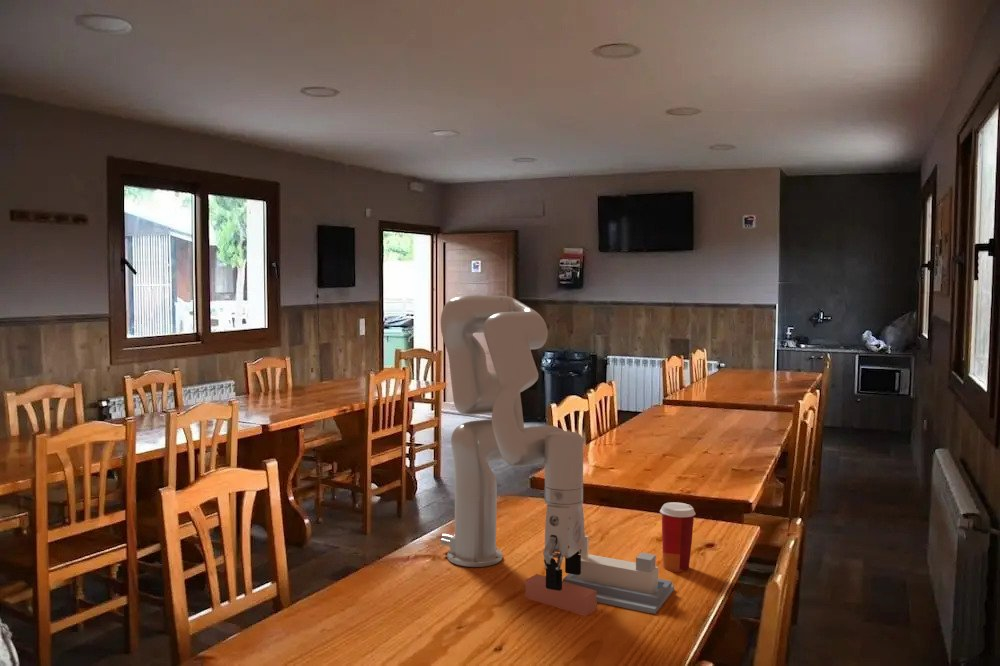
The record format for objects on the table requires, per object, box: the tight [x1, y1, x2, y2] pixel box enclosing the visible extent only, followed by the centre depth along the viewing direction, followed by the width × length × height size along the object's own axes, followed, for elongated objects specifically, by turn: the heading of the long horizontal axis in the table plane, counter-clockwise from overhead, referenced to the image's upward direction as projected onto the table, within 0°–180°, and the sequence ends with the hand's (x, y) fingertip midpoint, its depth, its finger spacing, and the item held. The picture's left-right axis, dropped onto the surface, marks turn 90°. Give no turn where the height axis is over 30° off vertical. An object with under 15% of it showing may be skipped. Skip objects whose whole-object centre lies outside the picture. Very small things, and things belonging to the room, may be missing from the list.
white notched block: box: [576, 535, 659, 594], centre depth 165 cm, size 16×4×10 cm, turn 63°
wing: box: [524, 573, 597, 617], centre depth 158 cm, size 14×4×4 cm, turn 54°
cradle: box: [562, 573, 675, 615], centre depth 165 cm, size 20×14×2 cm
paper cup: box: [659, 501, 696, 573], centre depth 179 cm, size 8×8×14 cm
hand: (563, 581), depth 158 cm, fingers open, 9 cm apart
